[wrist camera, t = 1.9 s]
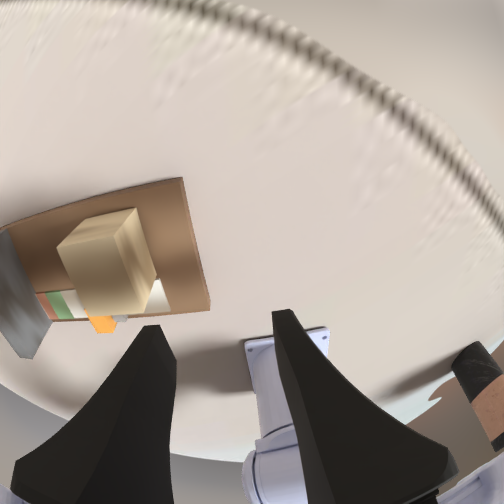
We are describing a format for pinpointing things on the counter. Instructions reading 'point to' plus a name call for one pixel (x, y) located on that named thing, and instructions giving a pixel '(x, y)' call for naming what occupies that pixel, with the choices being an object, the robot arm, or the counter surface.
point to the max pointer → (102, 323)
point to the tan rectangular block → (110, 264)
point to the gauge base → (57, 279)
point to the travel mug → (483, 389)
